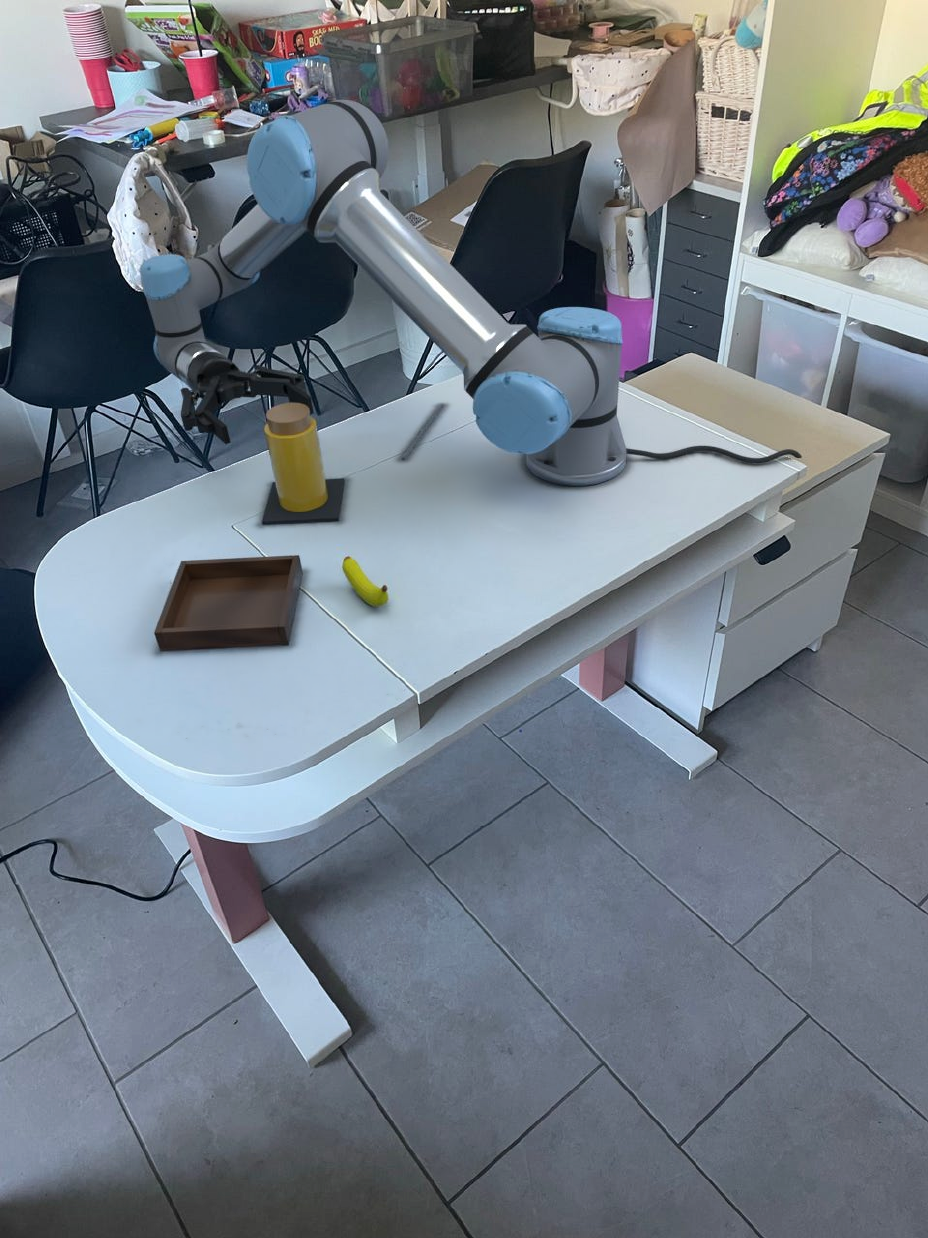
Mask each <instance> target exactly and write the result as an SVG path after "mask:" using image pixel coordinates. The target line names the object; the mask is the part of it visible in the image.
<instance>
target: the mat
mask: <svg viewBox="0 0 928 1238" xmlns="http://www.w3.org/2000/svg"><path fill="white" fill-rule="evenodd" d="M325 479H326V485H327V491H328V499H327V501H326V502H325V503H324V504H323V505H322V506H320V507H319V508H316V509H314V510H311V511H306V512H292V511H288V510H286V509H284V508H283V507H281V505H280V503H279V498H278V493H277V489H276V484H275V481H272V482H271V486H270V491H269V495H268V498H267V502H266V504H265V509H264V512H263V516H262V519H261V525H262V526H268V525H269V526H270V525H285V524H288V525H289V524H304V523H305V524H306V523H308V524H309V523H327V522H340V521H339V520H340V516H341V509H342V504H343V503H342V502H343V495H344V489H345V482H346V479H345V478H344V477H339V478H325Z"/></svg>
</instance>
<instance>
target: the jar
mask: <svg viewBox="0 0 928 1238" xmlns="http://www.w3.org/2000/svg"><path fill="white" fill-rule="evenodd" d="M265 419H266V424H265V425H264V427H263V428H264V429H263V431H264V435H265V440H266V444H267V450H268V456H269V460H270V464H271V469H272V475H273V477H274V478H273V479H274V482H275V484H276V489H277V493H278V498H279V503H280V505H281V507H283V508H284V509H286V510H288V511H292V512H306V511H311V510H314V509H316V508H319V507H320V506H322V505H323V504H324V503H325V502H326V501H327V499H328V491H327V485H326V479H327V478H326V474H325V468H324V462H323V455H322V451H321V450H322V449H321V444H320V439H319V437H320V436H319V431H318V426H317V421H316V419H315V418H314V417H313V416H311V415H310V410H309V408H308V407H307V406H306V405H304V404H301V403H292V402H285V403H280V404H277V405H274V406H272V407H271V408H269V409H268V410H267V411H266V413H265Z"/></svg>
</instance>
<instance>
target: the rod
mask: <svg viewBox="0 0 928 1238" xmlns="http://www.w3.org/2000/svg"><path fill="white" fill-rule="evenodd" d="M444 408H445V404H444V403H441V404H439V406H438V407H437V409H435V411H434V413H433V414H432V416H431V417H430V418H429V420H428V421H427V422H426V424H424V427H423V428H422V429H421V430H420V432H419V434H418V435H417V436H416V438H415V439H414V440H413V442H412V443H411V444H410V445H409V447H408V449H407V450H406V451H405V452H404V454H403V455H402V457H401V460H404V461H405V460H407V459H408V457H409V456H410V454H411V453H412V452H413V451H414V449H415V448H416V447H417V445H418V444H419V442H420V441H421V439H422V438H423V437H424V436H425V434H426V433H427V431H428V430H429V428H430V427H431V425H433V423H434V421H435V420H436V418H437V417H438V416H439V415H440V414H441V412H442V411H443V409H444Z"/></svg>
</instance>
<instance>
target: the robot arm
mask: <svg viewBox="0 0 928 1238" xmlns="http://www.w3.org/2000/svg"><path fill="white" fill-rule="evenodd" d="M389 149H390V148H389V140H388V135H387V133H386V130H385V128H384V125H383V124H382V122H381V120H380V119H379V118H378V117H377V116H376V114H375V113H374V112H373V111H372V110H371V109H369V108H368V107H367V106H365V105H363V104H361V103H359V102H356V101H354V100H350V99H334V100H331V101H328V102H325V103H323V104H319V105H317V106H314V107H311V108H308V109H306V110H305V109H304V110H302V111H299V112H297V113H294V114H290V115H285V114H283V115H280V116H277V117H275V119H273V120H272V121H270V122H267V123H265V124H263V125H261V126H260V127H259V128H258V129H257V130H256V132H254V134H253V136H252V138H251V140H250V142H249V145H248V149H247V154H246V171H247V174H248V177H249V186H250V190H251V192H252V194H253V197H254V199H255V201H256V203H257V204H256V205H255V206H254V207H253V208H252V209H251V210H249V212H248V213H247V214H246V215H245V216H243V218H242V219H241V220H240V221H239V222H238V223H236V225H234V226H233V228H231V229H230V230H229V231H228V233H226V234H225V236H223V238H221V240H220V241H219V242H217V243H216V245H214V246H213V247H212V248H211V249H209V250H208V251H206V252H204V253H202V254H200V255H198V256H195V257H193V258H190V259H188V260H187V259H186V258H185V257H184V256H182V255H179V254H176V253H175V254H174V253H169V254H160V255H158V256H157V255H156V256H151V257H149V258H147V259H145V260H144V261H142V263H141V264H140V269H139V272H140V277H141V278H140V279H141V283H142V291H143V294H144V296H145V298H146V303H147V305H148V308H149V312H150V315H151V319H152V322H153V325H154V330H155V337H154V341H153V348H152V349H153V352H154V353H153V354H154V356H155V357H156V359H157V360H158V362H159V363H160V365H161V366H163V368H164V369H165V370H166V371H167V372H168V373H170V374H172V375H173V376H174V377H176V378H177V379H178V380H180V382H182V383H183V384H185V386H187V387H182V388H181V389H180V393H181V397H182V403H181V409H180V418H181V422H182V425H183V429H184V431H185V432H189V431H192V430H193V429H194V428H195V427H197V432H198V433H199V434H205V433H206V434H208V435H210V434H213V435H214V436H216V437H217V438H218V439H219V440H220V441H221V442H222V443H223V444H225V445H228V444H231V438H230V434H229V430H228V426H227V424H225V423H224V422H223V421H222V420H220V419H219V418H218V417H217V416H216V415H215V412H216V411H217V410H220V409H221V407H222V405H223V404H225V403H229V402H232V401H233V400H235V399H241V398H250V399H251V398H253V399H255V398H256V397H257V396H266V397H267V396H268V397H282V398H288V401H289V403H301V404H304V405H306V406H307V407H308V408H309V410H310V416H311V415H314V414H315V413H314V408H313V402H312V396H310V395H309V394H307V386H306V380H305V375H303V374H299V373H295V372H294V373H293V372H289V371H283V370H278V369H273V368H269V367H265V366H263V365H262V364H256V365H254V366H253V368H254V371H251V372H247V371H243V370H240V368H239V367H238V366H237V365H236V364H235V362H234V361H232V360H231V359H230V358H228V357H226V356H225V355H224V354H223V353H221V352H220V351H218V349H215V348H214V347H213V346H211V345H210V344H208V343H207V341H206V336H205V333H204V328H203V323H202V319H201V318H202V317H201V313H200V311H201V310H203V309H205V308H207V307H209V306H211V305H213V304H215V303H217V302H219V301H221V300H223V299H226V298H228V297H229V296H231V295H233V294H236V293H237V292H241V291H244V290H246V289H247V288H248V287H250V286H251V285H253V284H254V283H256V282H257V280H259V278H260V274H261V271H262V270H263V269H265V268H266V267H267V266H268V265H269V264H270V263H272V262H273V261H274V260H275V259H276V258H277V257H278V256H279V255H281V254H282V253H283V252H284V251H286V250H287V249H288V248H289V247H290V246H291V245H292V244H294V242H296V241H297V240H298V239H299V238H300V237H301V236H303V234H305V233H306V232H308V233H309V234H310V235H311V236H312V237H313V238H314V239H315V240H316V241H317V242H319V243H320V244H321V243H322V244H325V243H326V244H327V243H328V244H329V243H335V244H337V246H338V247H339V248H340V249H341V250H342V251H343V252H345V254H346V255H347V256H348V257H349V258H350V259H351V260H352V261H354V263H355V264H356V265H357V266H358V267H359V268H360V269H361V270H362V271H363V272H364V274H366V275H367V276H368V277H369V278H370V279H371V280H372V281H373V283H375V284H376V285H377V286H378V287H379V288H380V289H381V290H382V291H383V293H385V294H386V295H387V297H389V298H390V299H391V300H392V302H394V304H395V305H396V306H397V307H398V308H400V310H401V311H402V312H403V313H404V314H405V315H406V316H407V317H408V318H409V320H411V321H412V322H413V323H414V324H415V325H416V326H417V328H419V329H420V330H421V331H422V332H423V333H424V334H425V335H426V336H427V337H428V338H429V339H430V340H431V341H432V343H434V344H435V345H436V347H438V348H439V350H441V352H443V354H444V355H445V356H446V357H447V358H448V359H449V360H450V361H451V362H452V363H453V364H454V365H455V366H456V367H457V368H458V369H459V370H460V371H461V372H462V374H463V375H462V376H463V391H464V392H466V394H467V395H468V396H469V397H470V398H471V399H472V400H473V401H472V412H473V415H474V416H475V419H474V420H475V421H474V422H475V423H476V426H477V428H478V429H479V431H480V432H481V434H482V435H483V436H484V437H485V439H487V440H488V441H489V442H490V443H491V444H492V445H494V446H495V447H497V448H499V449H501V450H502V451H506V452H508V453H511V454H517V455H519V454H522V455H523V454H524V455H525V463H526V466H527V469H528V470H529V471H530V472H531V473H532V474H533V475H535V476H536V477H538V478H540V479H542V480H544V481H547V482H549V483H553V484H557V485H562V486H573V487H577V486H578V487H580V486H591V485H597V484H600V483H603V482H606V481H607V482H608V481H609V480H611V479H613V478H615V477H617V476H618V475H619V474H620V473H621V472H623V470H624V468H625V467H626V463H627V455H634V456H640V457H645V458H650V459H657V460H662V459H663V460H665V459H672V458H676V457H679V456H682V455H686V454H689V453H694V452H711V453H716V454H719V455H721V456H725V457H727V458H730V459H733V460H736V461H739V462H741V463H745V464H746V463H747V464H754V465H755V464H756V465H757V464H765V463H769V462H772V461H775V460H776V459H779V458H781V457H783V456H787V455H788V456H793V457H794V458H795V459H803V456H802V454H801V453H800V452H798V451H797V450H795V449H792V448H791V449H790V448H789V449H788V448H786V449H782V450H779V451H777V452H775V453H772V454H770V455H767V456H764V457H749V456H745V455H740V454H737V453H735V452H732V451H729V450H727V449H724V448H721V447H717V446H714V445H713V446H712V445H693V446H688V447H684V448H681V449H677V450H675V451H671V452H661V453H660V452H658V453H657V452H652V451H647V450H642V449H635V448H634V449H633V448H627V445H626V443H625V439H624V436H623V432H622V427H621V425H620V422H619V418H618V403H619V402H618V401H619V390H620V374H621V361H622V360H621V359H622V348H623V347H622V346H623V344H624V340H623V325H622V322H621V320H620V319H619V318H618V317H617V316H616V315H615V314H613V313H611V312H609V311H606V310H603V309H599V308H591V307H582V306H567V307H565V306H564V307H556V308H553V309H552V308H551V309H548V310H546V311H544V312H542V313H541V314H540V316H539V318H538V325H537V326H536V329H537V332H538V333H537V334H538V336H537V335H536V333H534V332H533V330H532V329H530V328H529V327H528V325H527V324H511V323H509V322H507V321H506V320H505V319H504V318H503V316H501V314H500V313H498V312H497V310H496V309H495V308H494V307H493V306H492V305H491V304H490V303H489V302H488V301H487V300H486V299H485V298H484V297H483V296H482V295H481V294H480V293H479V292H478V291H477V290H476V289H475V287H473V286H472V284H470V283H469V282H468V280H466V279H465V277H464V276H463V275H462V274H461V273H459V271H458V270H456V268H455V267H454V266H453V265H452V264H451V263H450V262H449V261H448V260H447V259H446V258H445V257H444V255H442V254H441V253H440V252H439V251H438V249H436V248H435V247H434V246H433V245H432V244H431V242H430V241H428V240H427V238H426V237H425V236H424V235H423V234H422V233H421V232H420V231H419V230H418V229H417V228H416V227H415V226H414V225H413V224H412V223H411V222H410V221H409V220H408V219H407V217H405V215H403V214H402V212H400V211H399V210H398V208H397V207H395V206H394V204H393V203H391V202H390V201H389V199H388V198H386V196H385V195H384V194H383V193H382V192H381V189H380V179H381V178H382V176H383V175H384V174H385V171H386V169H387V166H388V161H389V155H390V153H389ZM199 399H201V401H200V402H199V403H197V402H198V401H199ZM196 406H197V407H196Z"/></svg>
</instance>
